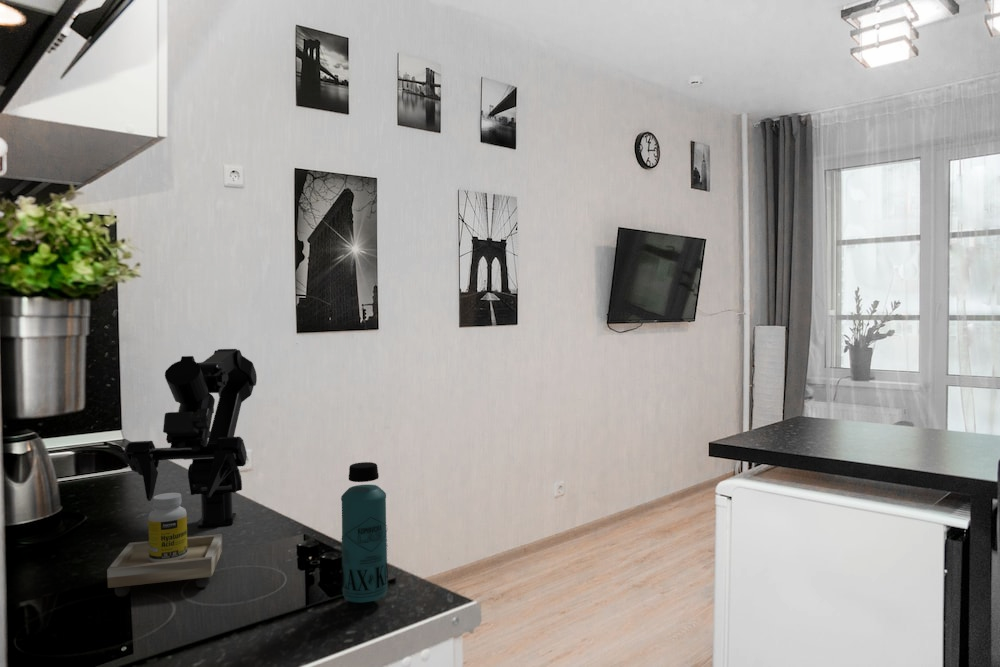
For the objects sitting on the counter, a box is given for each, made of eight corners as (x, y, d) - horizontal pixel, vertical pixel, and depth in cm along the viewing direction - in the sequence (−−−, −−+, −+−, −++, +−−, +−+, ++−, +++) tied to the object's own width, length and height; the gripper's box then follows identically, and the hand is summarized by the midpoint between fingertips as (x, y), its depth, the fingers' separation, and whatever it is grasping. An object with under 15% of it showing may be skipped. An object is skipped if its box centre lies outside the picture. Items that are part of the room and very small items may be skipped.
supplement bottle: (160, 566, 103) (157, 502, 103) (142, 559, 106) (140, 497, 106) (194, 556, 107) (192, 494, 107) (176, 549, 110) (174, 489, 110)
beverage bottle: (333, 604, 97) (329, 464, 96) (372, 590, 101) (369, 456, 101) (358, 618, 92) (355, 471, 91) (399, 603, 97) (395, 463, 96)
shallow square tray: (130, 571, 111) (129, 542, 110) (222, 561, 114) (221, 534, 114) (108, 601, 99) (107, 569, 99) (212, 589, 103) (210, 558, 102)
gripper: (125, 394, 115) (101, 475, 105) (241, 390, 118) (229, 468, 108) (142, 432, 123) (122, 511, 113) (251, 427, 126) (241, 503, 116)
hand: (178, 497), depth 112 cm, fingers open, 9 cm apart
